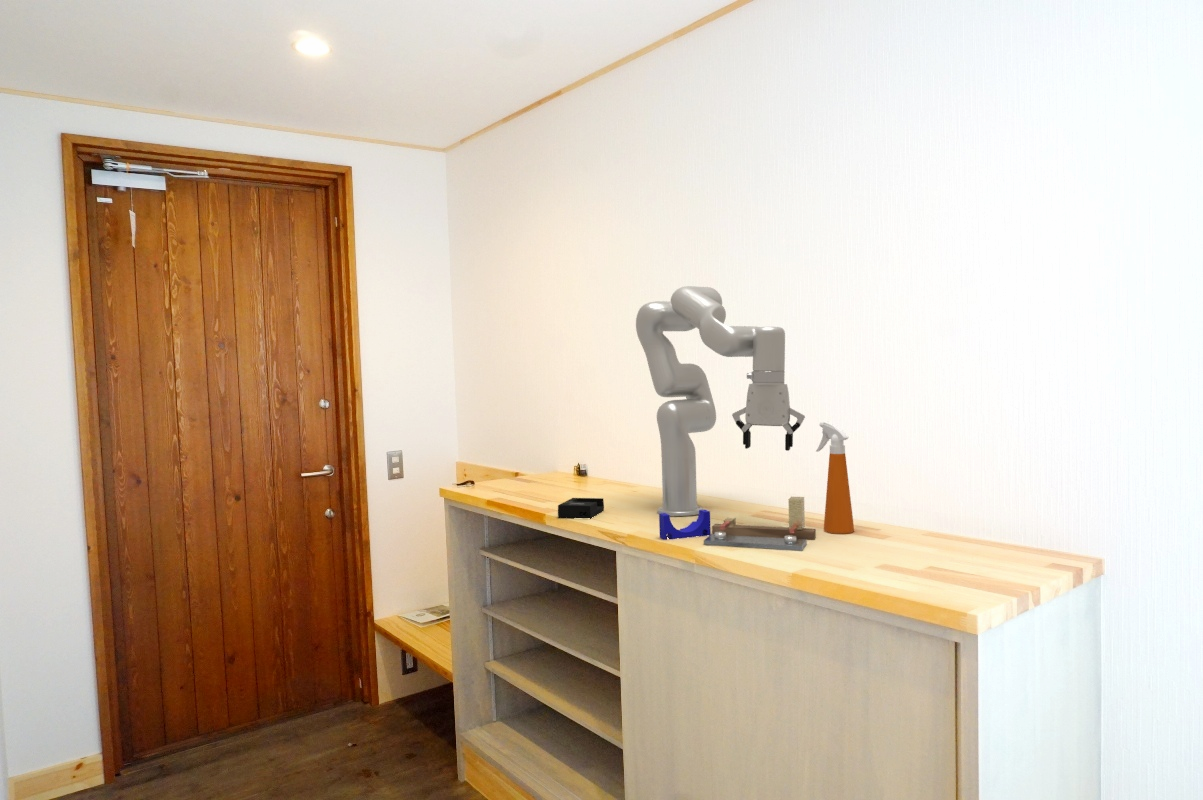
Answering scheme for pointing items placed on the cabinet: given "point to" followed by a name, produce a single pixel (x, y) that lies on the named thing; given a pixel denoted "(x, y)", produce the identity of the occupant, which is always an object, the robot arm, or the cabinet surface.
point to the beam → (761, 530)
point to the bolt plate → (756, 541)
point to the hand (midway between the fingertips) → (767, 448)
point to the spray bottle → (836, 483)
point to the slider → (796, 514)
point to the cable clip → (694, 529)
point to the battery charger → (580, 508)
